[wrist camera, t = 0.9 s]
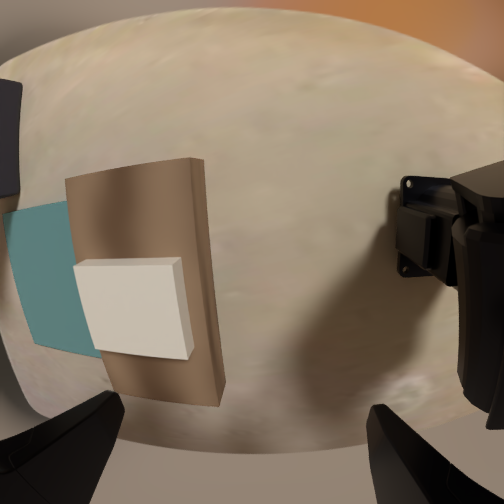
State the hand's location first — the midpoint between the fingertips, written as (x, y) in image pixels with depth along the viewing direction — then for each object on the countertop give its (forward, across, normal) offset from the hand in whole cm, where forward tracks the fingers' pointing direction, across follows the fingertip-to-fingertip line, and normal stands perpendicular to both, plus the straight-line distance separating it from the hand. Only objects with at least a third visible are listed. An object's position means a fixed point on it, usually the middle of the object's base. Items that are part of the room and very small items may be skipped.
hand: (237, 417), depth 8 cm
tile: (+8, +8, 0) cm, 11 cm away
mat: (+12, +19, 0) cm, 22 cm away
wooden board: (+12, +8, 0) cm, 14 cm away
